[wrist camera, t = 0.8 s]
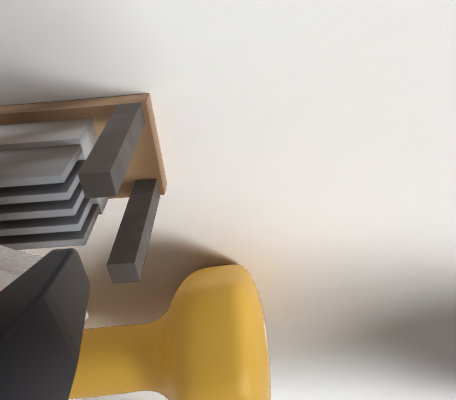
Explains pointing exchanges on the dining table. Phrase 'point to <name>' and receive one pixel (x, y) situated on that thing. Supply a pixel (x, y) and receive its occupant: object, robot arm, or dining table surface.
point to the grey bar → (15, 265)
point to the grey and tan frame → (80, 175)
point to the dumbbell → (185, 345)
